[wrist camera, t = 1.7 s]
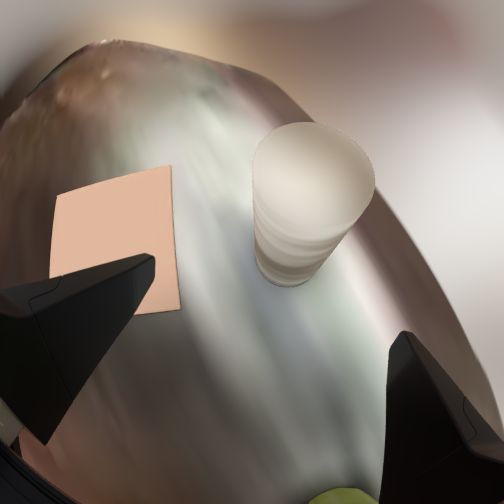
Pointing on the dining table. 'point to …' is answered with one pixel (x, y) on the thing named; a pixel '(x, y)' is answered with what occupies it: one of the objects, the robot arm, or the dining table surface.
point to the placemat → (120, 231)
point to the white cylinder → (305, 198)
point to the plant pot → (343, 497)
